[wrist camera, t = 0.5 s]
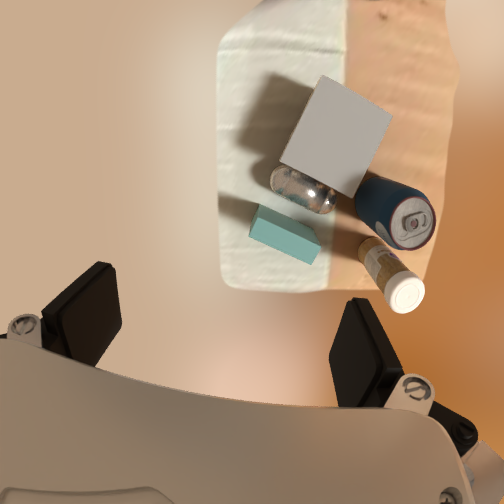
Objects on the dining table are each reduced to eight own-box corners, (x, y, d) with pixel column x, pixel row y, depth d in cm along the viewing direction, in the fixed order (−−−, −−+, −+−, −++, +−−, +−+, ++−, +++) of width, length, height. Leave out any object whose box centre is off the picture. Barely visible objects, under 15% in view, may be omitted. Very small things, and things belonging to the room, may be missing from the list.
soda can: (358, 229, 38) (389, 264, 27) (347, 182, 36) (379, 200, 25) (400, 217, 37) (442, 245, 26) (391, 170, 35) (436, 184, 24)
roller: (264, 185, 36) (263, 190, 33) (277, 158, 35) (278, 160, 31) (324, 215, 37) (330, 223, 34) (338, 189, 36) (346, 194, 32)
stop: (259, 203, 38) (257, 217, 31) (312, 229, 39) (321, 246, 32) (252, 220, 39) (248, 236, 32) (304, 244, 39) (311, 265, 33)
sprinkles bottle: (387, 238, 38) (431, 279, 26) (380, 266, 40) (417, 315, 27) (360, 234, 38) (397, 276, 26) (353, 263, 40) (384, 314, 28)
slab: (318, 79, 27) (322, 74, 25) (384, 117, 28) (392, 116, 26) (278, 160, 31) (279, 161, 29) (346, 194, 32) (352, 198, 30)
